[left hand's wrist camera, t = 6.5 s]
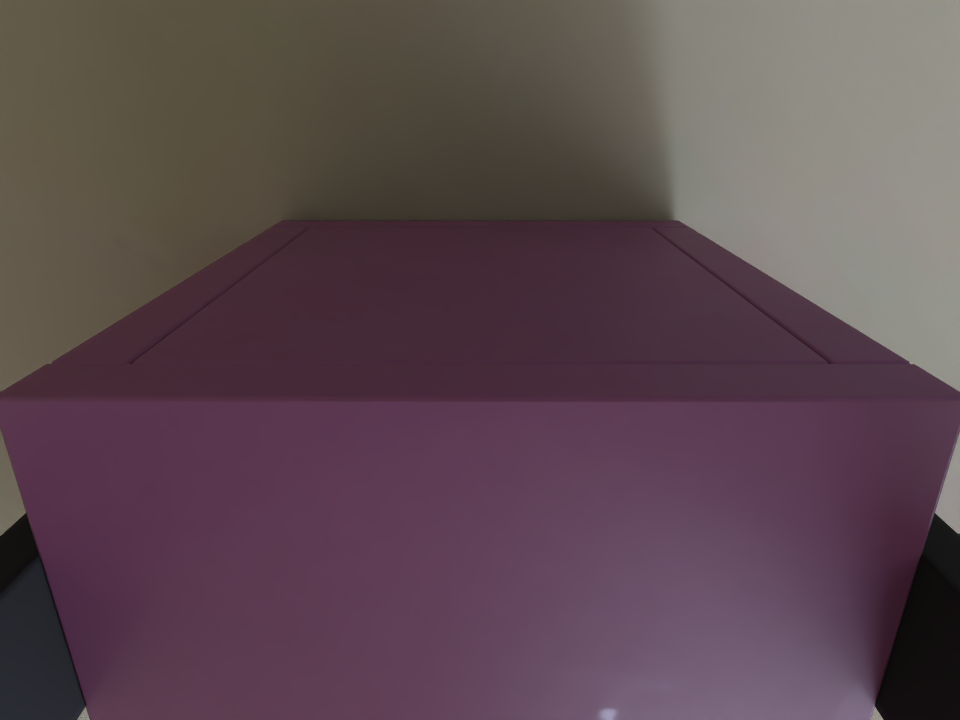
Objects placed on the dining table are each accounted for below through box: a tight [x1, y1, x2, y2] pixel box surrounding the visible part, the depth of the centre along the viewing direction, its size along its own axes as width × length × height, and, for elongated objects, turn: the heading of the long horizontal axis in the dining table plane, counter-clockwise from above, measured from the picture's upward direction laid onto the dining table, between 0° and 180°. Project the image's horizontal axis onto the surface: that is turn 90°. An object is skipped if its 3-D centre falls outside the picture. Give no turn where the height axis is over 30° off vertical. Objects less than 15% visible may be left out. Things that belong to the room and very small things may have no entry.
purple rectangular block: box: [0, 220, 960, 720], centre depth 17 cm, size 21×12×12 cm, turn 0°
